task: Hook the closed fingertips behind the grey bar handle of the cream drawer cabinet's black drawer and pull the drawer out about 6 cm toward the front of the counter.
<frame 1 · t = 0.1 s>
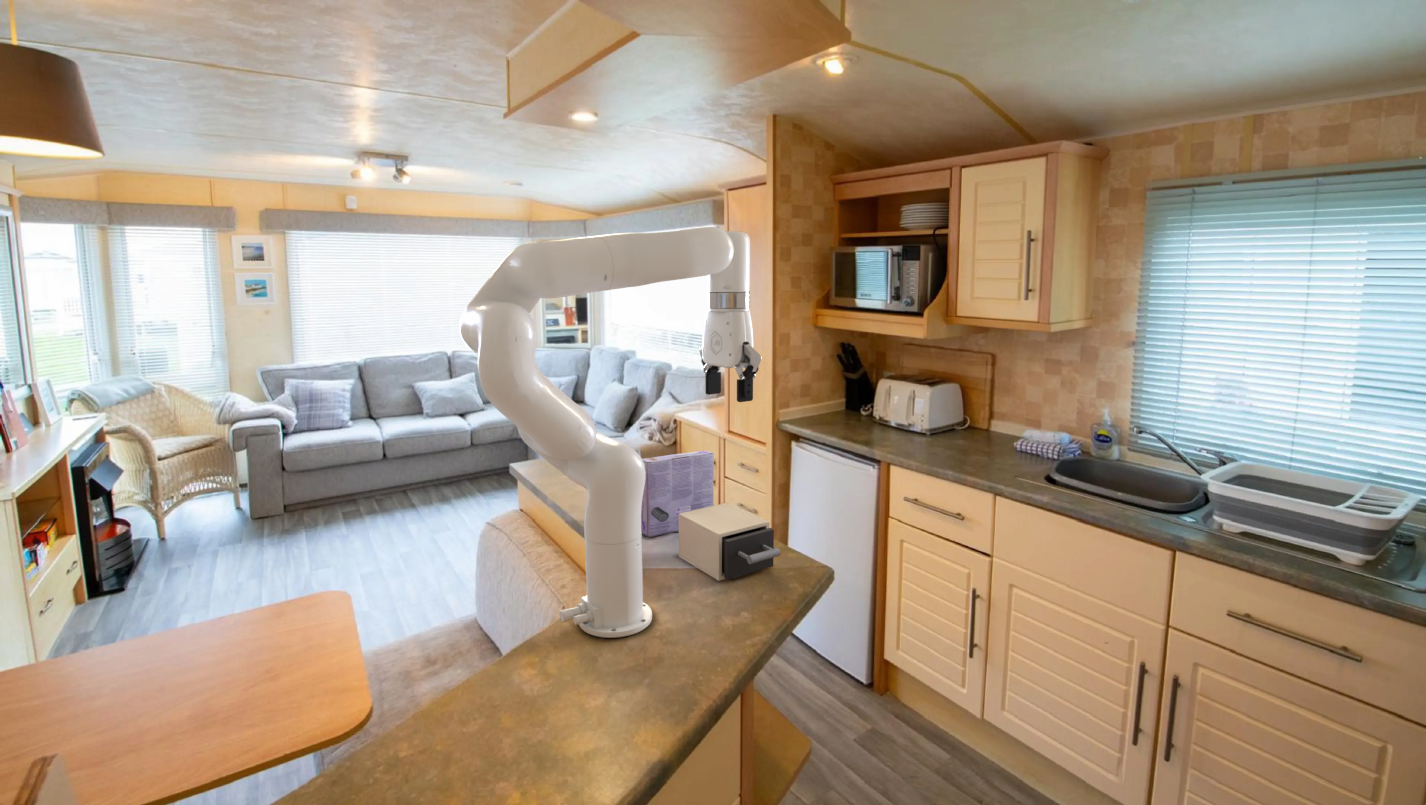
hand: (728, 397, 127), 37 cm above the countertop, tool pointing down, fingers open, 9 cm apart
squeeze bottle: (638, 522, 168), on the countertop
cream drawer cabinet: (723, 561, 145), on the countertop
cake pan box: (679, 528, 164), on the countertop
black drawer: (737, 546, 140), point 5 cm above the countertop, slide at 1.0 cm
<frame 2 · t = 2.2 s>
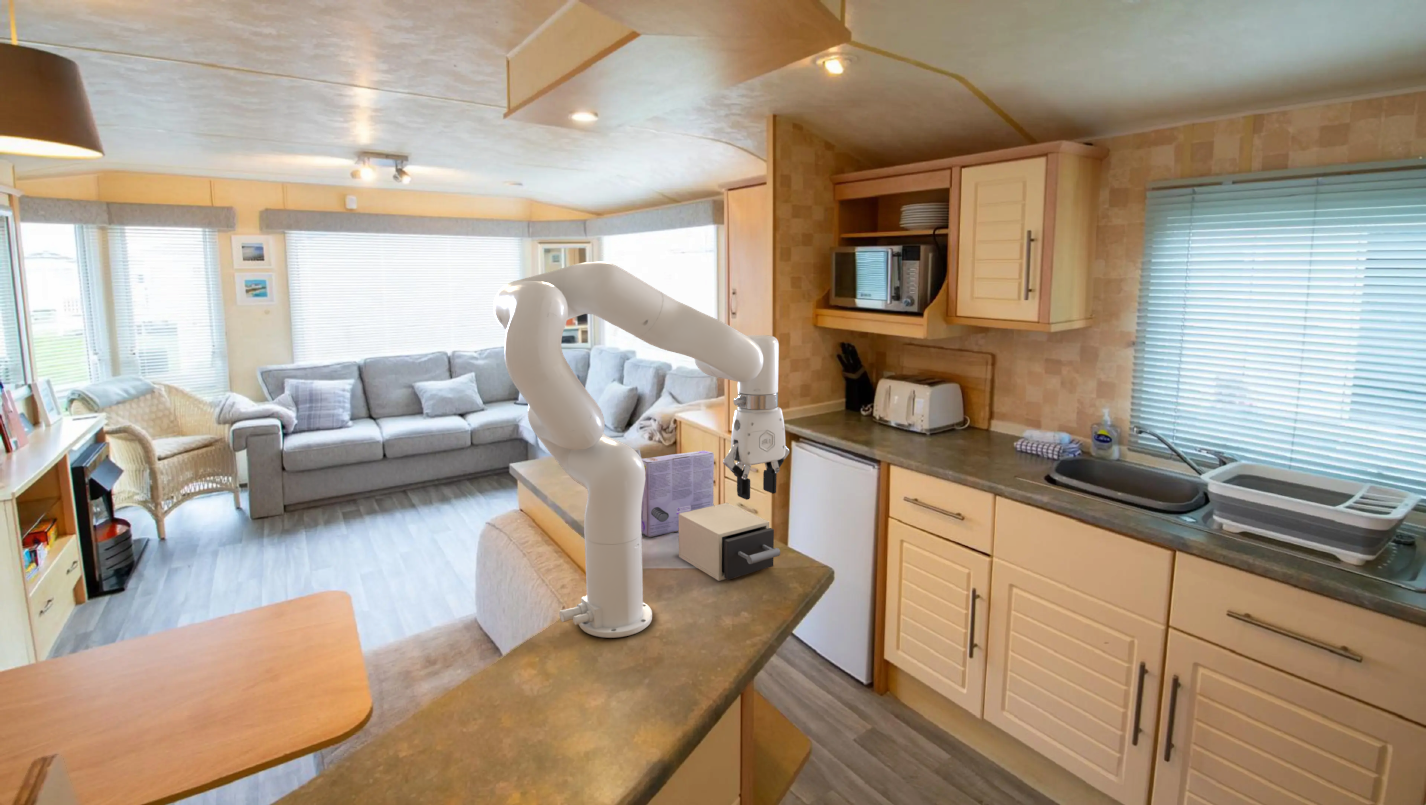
hand: (756, 493, 133), 18 cm above the countertop, tool pointing down, fingers open, 5 cm apart
nothing on the countertop moved.
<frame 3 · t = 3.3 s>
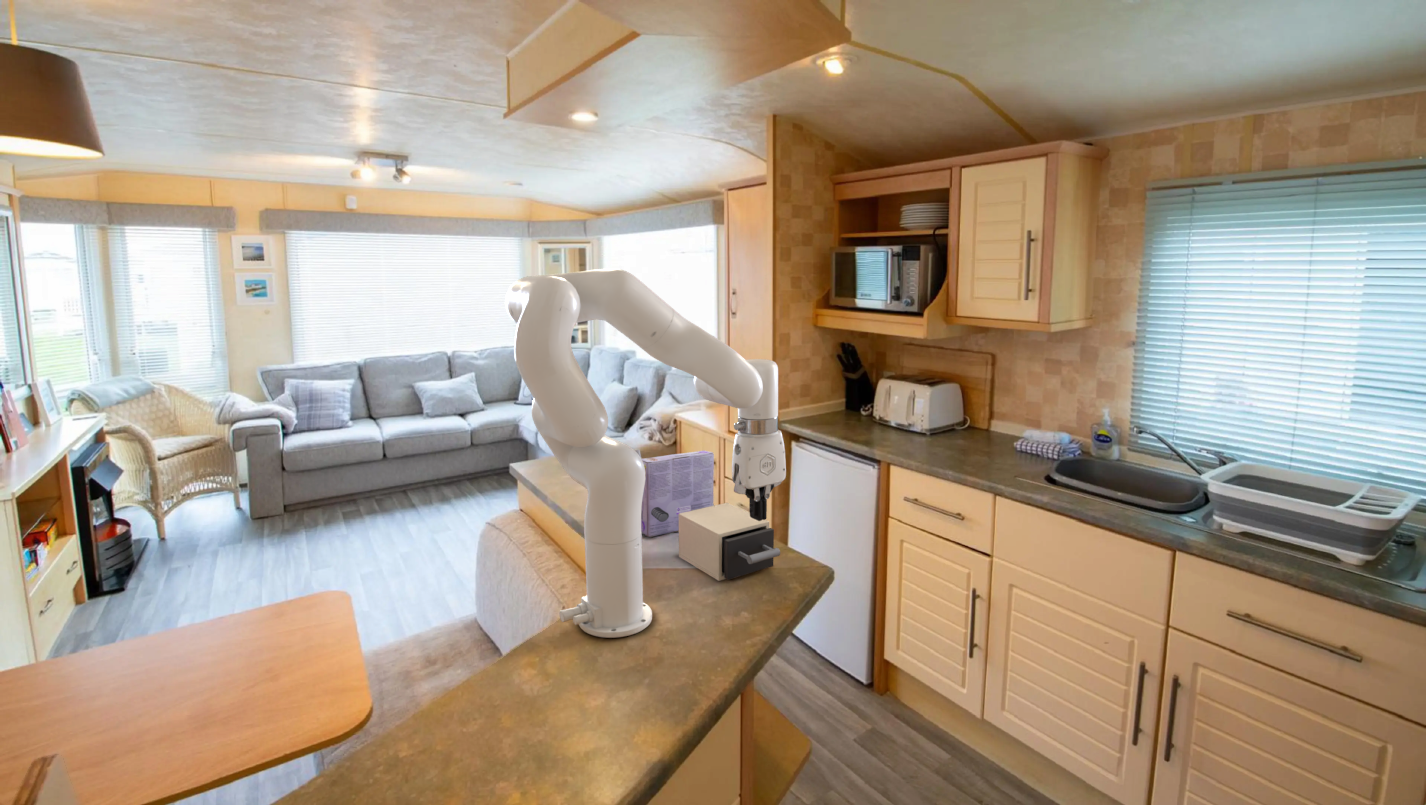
hand: (758, 518, 134), 13 cm above the countertop, tool pointing down, fingers closed
nothing on the countertop moved.
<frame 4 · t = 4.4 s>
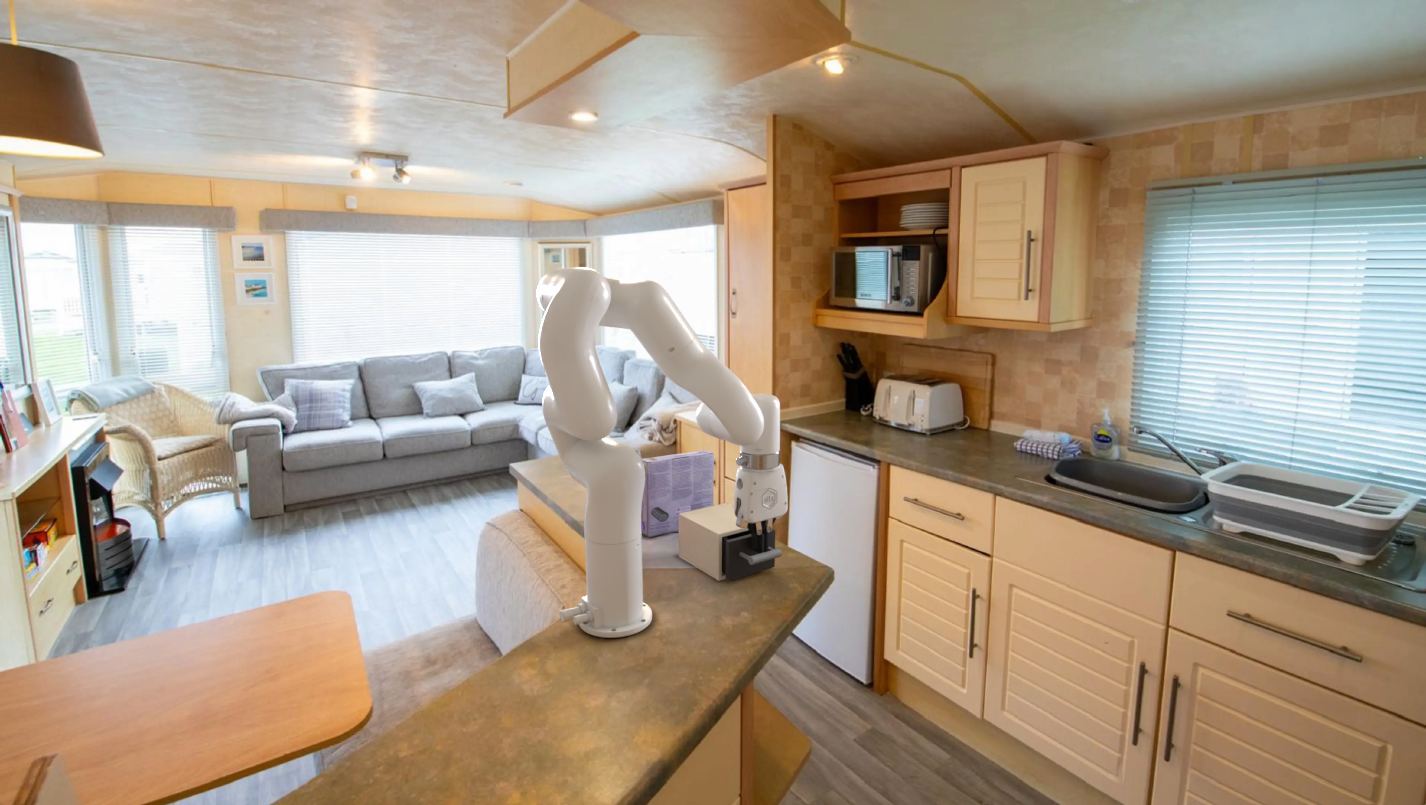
hand: (760, 550, 135), 6 cm above the countertop, tool pointing down, fingers closed
black drawer: (739, 547, 140), point 5 cm above the countertop, slide at 1.4 cm, touching gripper
everything else where it was.
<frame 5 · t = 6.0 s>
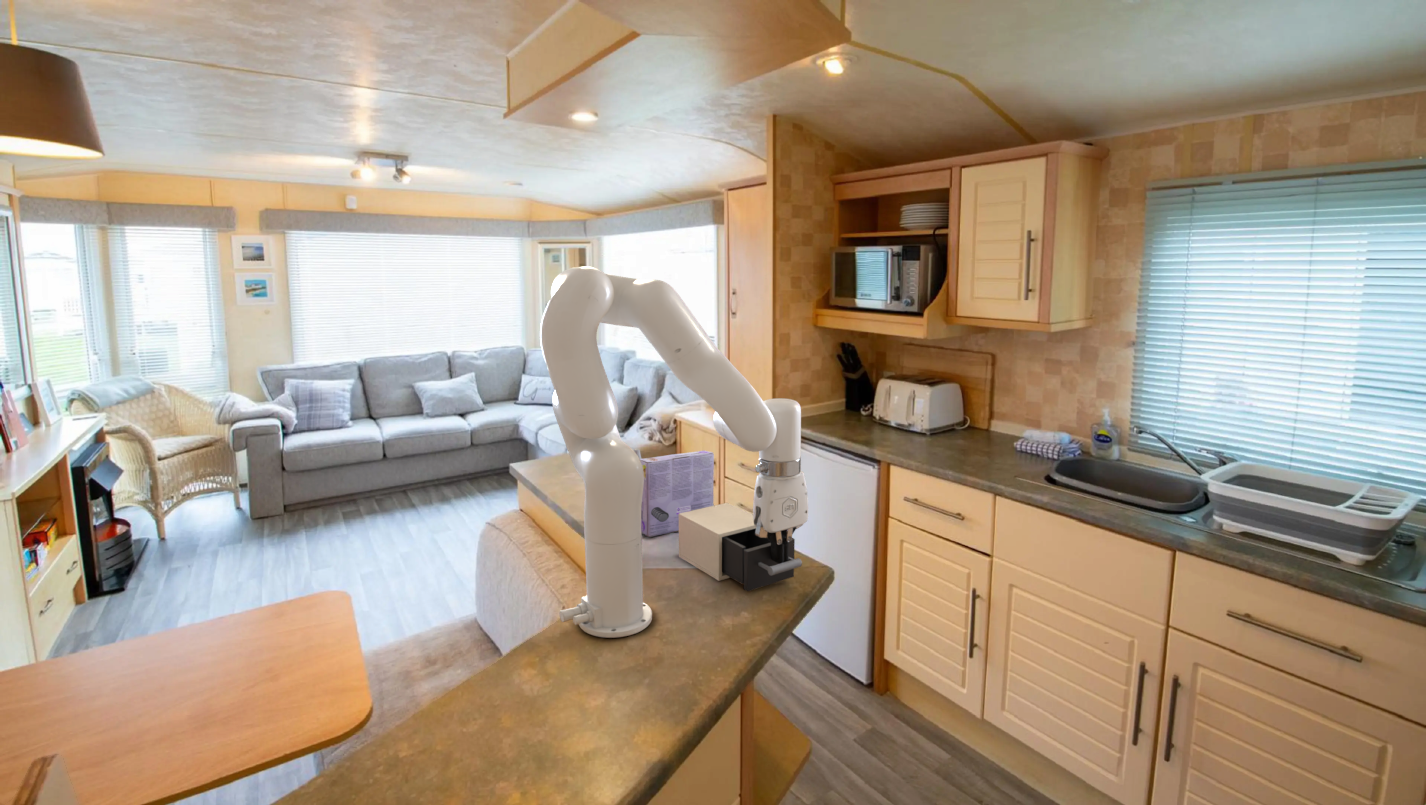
hand: (779, 560, 130), 6 cm above the countertop, tool pointing down, fingers closed
black drawer: (757, 556, 135), point 5 cm above the countertop, slide at 7.2 cm, touching gripper
everything else where it was.
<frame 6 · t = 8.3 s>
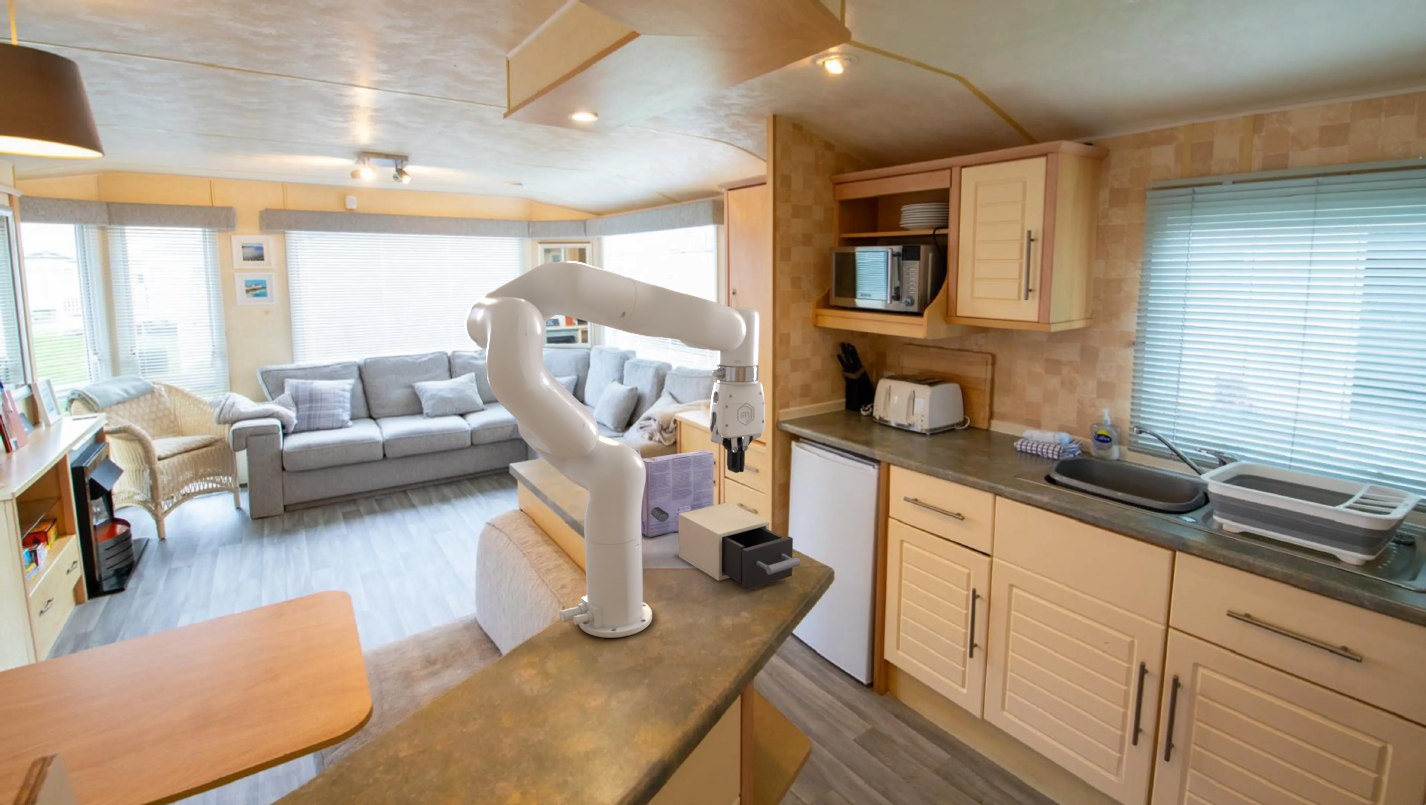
hand: (735, 470, 132), 22 cm above the countertop, tool pointing down, fingers closed
black drawer: (755, 556, 135), point 5 cm above the countertop, slide at 6.7 cm
everything else where it was.
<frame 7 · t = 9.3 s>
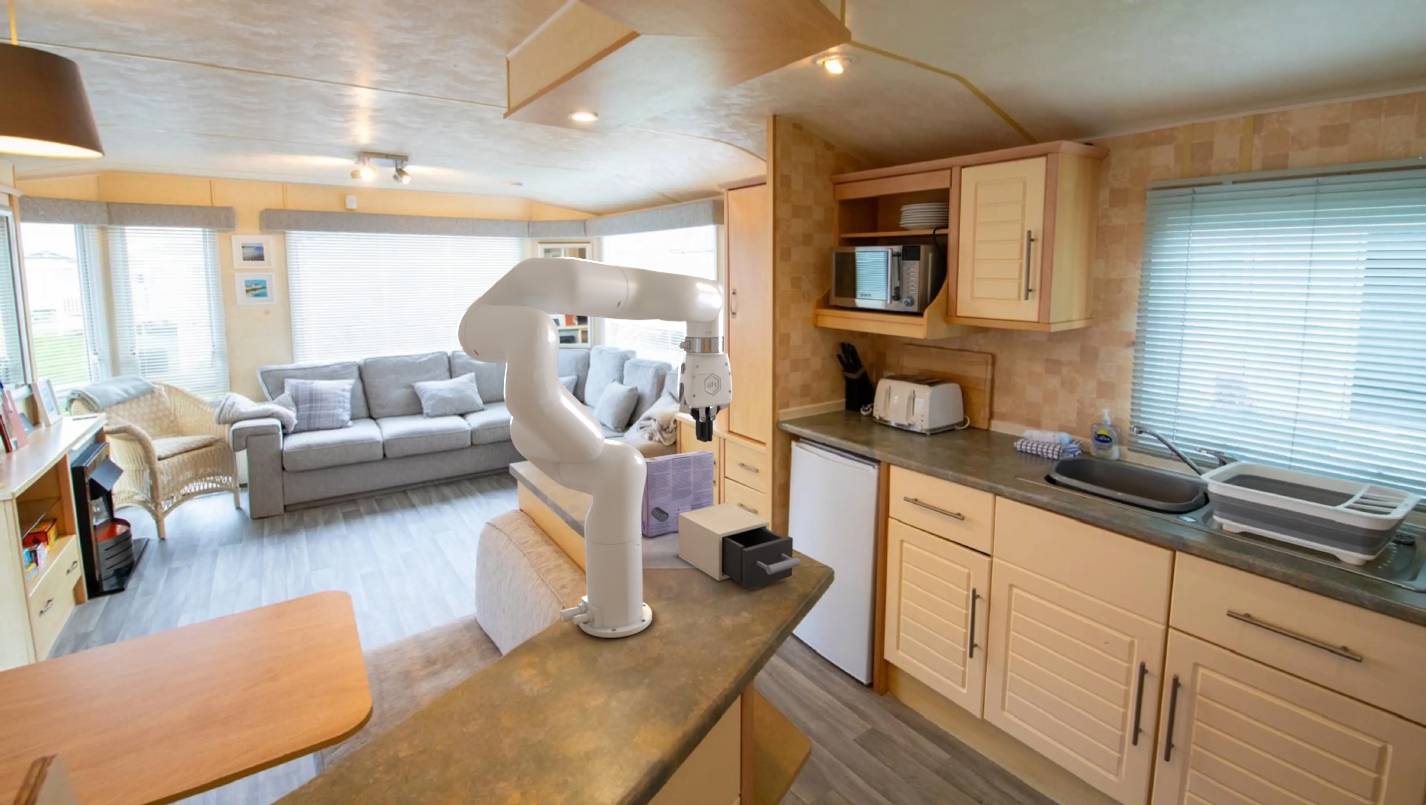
hand: (704, 440, 135), 27 cm above the countertop, tool pointing down, fingers closed
nothing on the countertop moved.
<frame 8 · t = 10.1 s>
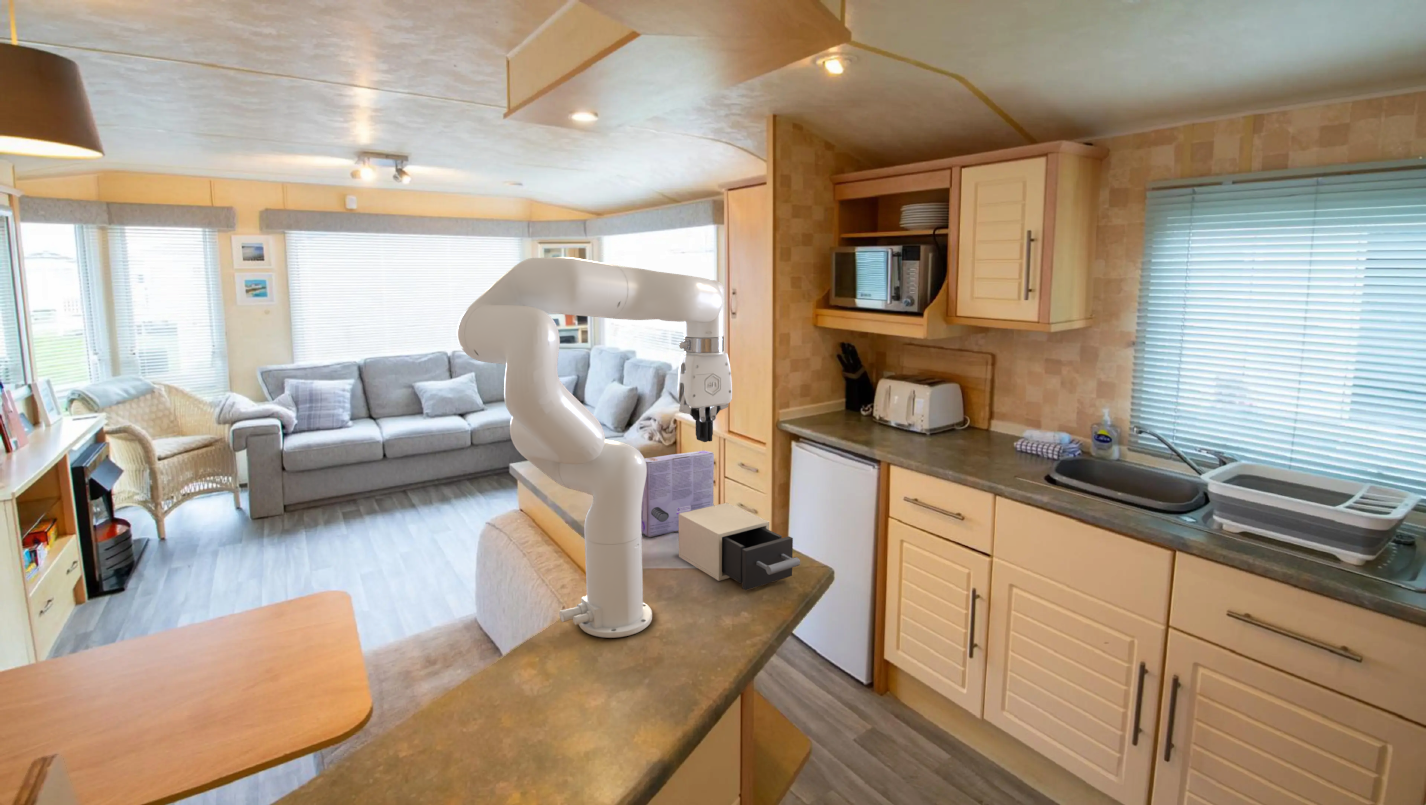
hand: (704, 440, 135), 27 cm above the countertop, tool pointing down, fingers closed
nothing on the countertop moved.
at the end: black drawer slide at 6.7 cm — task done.
